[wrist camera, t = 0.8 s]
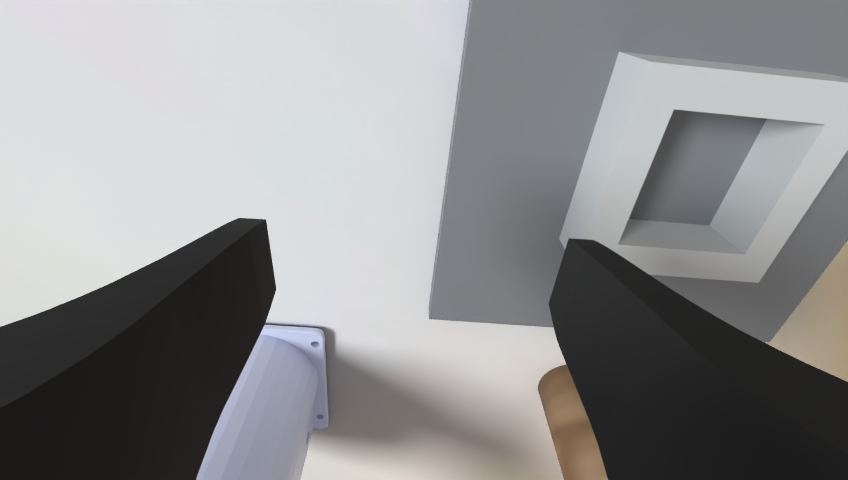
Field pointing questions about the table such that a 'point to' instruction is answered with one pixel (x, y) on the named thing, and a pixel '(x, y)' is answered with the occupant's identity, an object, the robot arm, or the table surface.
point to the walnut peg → (570, 427)
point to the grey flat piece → (646, 153)
